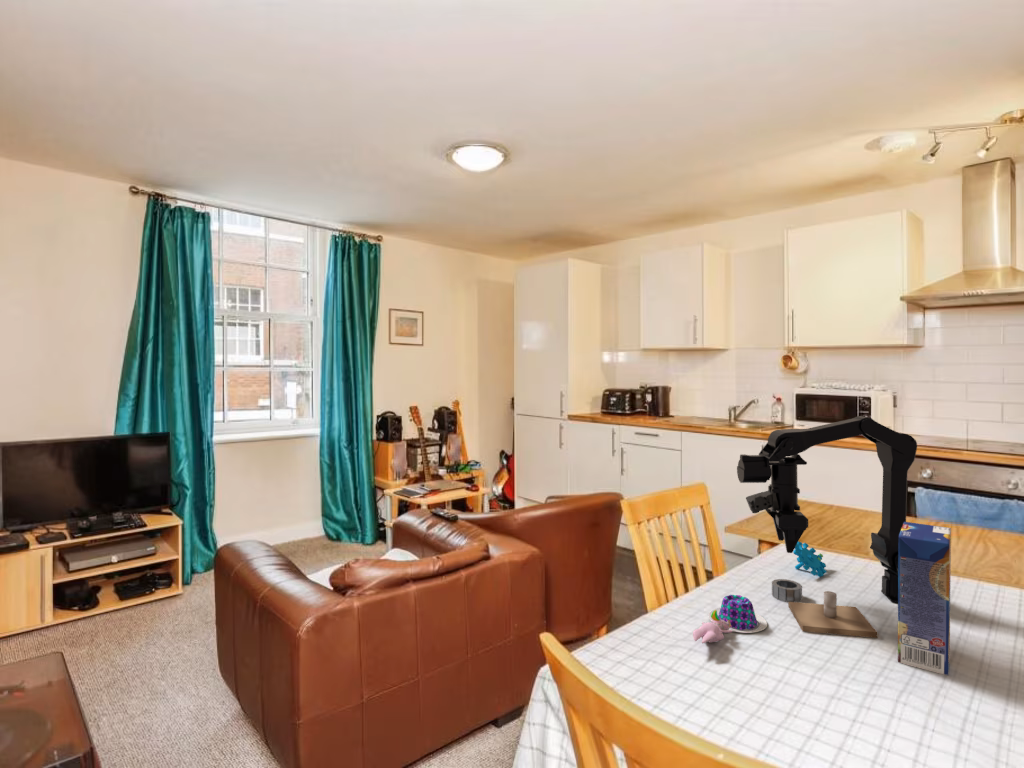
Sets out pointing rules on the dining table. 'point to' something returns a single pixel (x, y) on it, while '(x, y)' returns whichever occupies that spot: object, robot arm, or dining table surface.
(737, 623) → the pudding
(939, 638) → the juice carton
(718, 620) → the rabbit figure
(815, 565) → the gear
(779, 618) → the dining table surface
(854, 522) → the dining table surface
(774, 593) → the hub ring
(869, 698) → the dining table surface
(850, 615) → the shaft stand
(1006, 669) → the dining table surface
